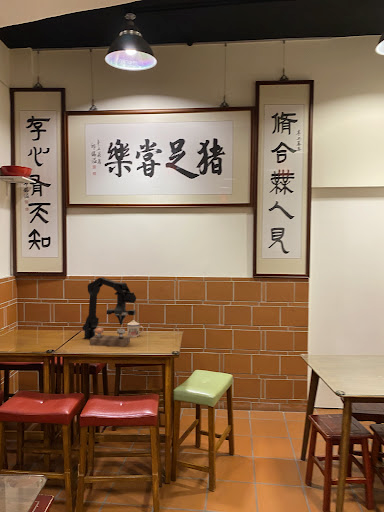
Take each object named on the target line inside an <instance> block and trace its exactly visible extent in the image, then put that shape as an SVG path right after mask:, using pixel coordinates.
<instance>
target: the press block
mask: <svg viewBox="0 0 384 512" xmlns="http://www.w3.org/2000/svg"><path fill="white" fill-rule="evenodd" d="M129 342H131V337H130V336H127V335H123V339H119V335H105V334H101V338H98V334H95V336H94V337H92V338H90V339H89V346H103V347H121V348H123V347H125V348H126V346H127V345H129V344H130V343H129ZM128 343H129V344H128Z"/></svg>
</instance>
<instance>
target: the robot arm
mask: <svg viewBox="0 0 384 512" xmlns="http://www.w3.org/2000/svg"><path fill="white" fill-rule="evenodd" d="M103 285H104V286H107V287H110V288H112V289H113V290H114V291H116V292H115V293H114V295H115V296H116V305H115V308H109V309H107V310H106V313H105V314H106V315H112V314H114V316H115V317H116V318H117V319H118V322H119V325H121V326H122V325H123V322H124V321H125V318H126V317H127V316H135V315H137V311H136V309H129V310H127V308H126V305H127V303H130V304H134V303H135V302H136V301H137V297H136V295H135V293H134V292H131V290H130V288H129V287H128V284H127V283H126V282H122V281H121V282H120V281H114V280H111V279H109V278H105V277H103V276H102V277H98V278H96V279H95V280H93V281H91V282H89V283H88V284H87V292H88V294H89V301H88V302H89V305H88V315H87V317H86V318H85V322H84V323H85V324H83V326H82V327H81V328H82V331H84V334H83V335H84V337H83V339H84V340H90V338H92V337H94V336H95V335H96V332H95V329H96V328H98V325H99V317H97V314H96V313H97V301H98V294H99V293H100V291H101V287H103Z"/></svg>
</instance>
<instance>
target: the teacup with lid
mask: <svg viewBox="0 0 384 512" xmlns="http://www.w3.org/2000/svg"><path fill="white" fill-rule="evenodd" d="M126 325H127V327H126V329H127V330H126V332H127V333H126V334H127V335H126V336H130V338H138V337H139V336H140V334H142V333H143V332H144V326H142V325H141V324H140V322H137V321H136V320H135V319H133V320H131V321H130V322H128V323H127V324H126ZM140 328H142V329H141V331H140ZM137 336H138V337H137Z"/></svg>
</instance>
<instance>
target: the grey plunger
mask: <svg viewBox="0 0 384 512" xmlns="http://www.w3.org/2000/svg"><path fill="white" fill-rule="evenodd" d="M125 333H126V329H125V328H116V334H118V336H119V339H123V336H124V334H125Z"/></svg>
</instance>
